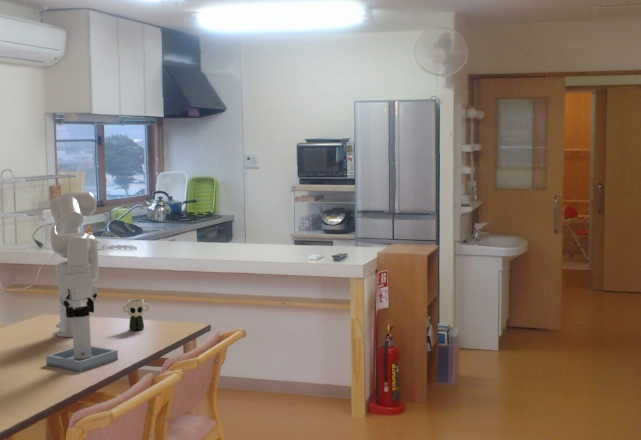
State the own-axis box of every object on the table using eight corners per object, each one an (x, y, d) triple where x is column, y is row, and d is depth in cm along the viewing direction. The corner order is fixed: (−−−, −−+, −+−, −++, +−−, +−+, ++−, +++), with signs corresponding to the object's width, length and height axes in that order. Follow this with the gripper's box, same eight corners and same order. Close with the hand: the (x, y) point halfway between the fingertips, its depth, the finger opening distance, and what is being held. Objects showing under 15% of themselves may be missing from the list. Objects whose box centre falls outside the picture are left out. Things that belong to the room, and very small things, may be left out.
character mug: (124, 332, 332) (123, 302, 331) (123, 328, 339) (122, 299, 338) (150, 330, 335) (148, 301, 334) (149, 326, 342) (147, 298, 341)
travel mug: (87, 361, 284) (84, 308, 282) (70, 361, 285) (68, 307, 283) (95, 357, 290) (93, 304, 288) (79, 356, 291) (77, 304, 289)
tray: (46, 364, 284) (46, 355, 284) (84, 353, 300) (84, 344, 299) (80, 371, 275) (79, 362, 275) (117, 359, 290) (117, 350, 290)
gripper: (89, 264, 293) (91, 309, 295) (52, 272, 279) (54, 318, 280) (103, 266, 289) (105, 311, 291) (66, 273, 275) (68, 320, 277)
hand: (80, 314), depth 286 cm, fingers open, 9 cm apart
